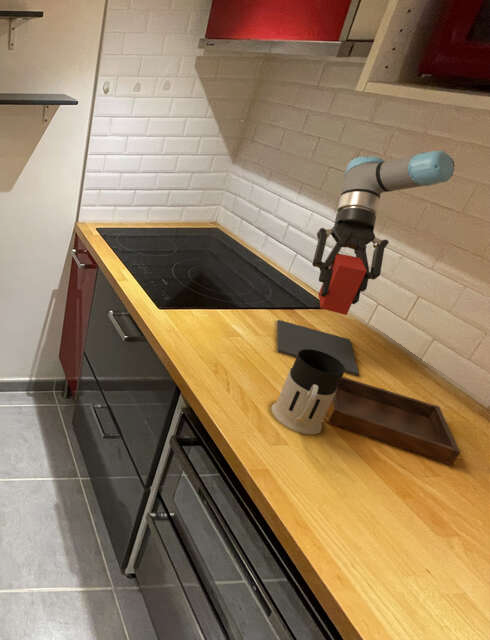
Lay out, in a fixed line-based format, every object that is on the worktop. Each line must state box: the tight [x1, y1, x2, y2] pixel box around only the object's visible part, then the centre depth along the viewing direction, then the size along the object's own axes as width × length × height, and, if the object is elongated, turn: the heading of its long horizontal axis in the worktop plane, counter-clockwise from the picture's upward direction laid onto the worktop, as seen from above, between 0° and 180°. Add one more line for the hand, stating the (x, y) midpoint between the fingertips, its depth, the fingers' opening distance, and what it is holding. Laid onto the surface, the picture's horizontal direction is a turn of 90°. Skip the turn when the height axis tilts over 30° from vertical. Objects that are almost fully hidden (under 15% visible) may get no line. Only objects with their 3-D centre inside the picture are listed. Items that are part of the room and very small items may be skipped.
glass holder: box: [270, 349, 346, 435], centre depth 89 cm, size 9×14×15 cm, turn 140°
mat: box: [276, 319, 359, 377], centre depth 116 cm, size 16×16×1 cm
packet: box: [317, 253, 367, 316], centre depth 108 cm, size 5×8×12 cm, turn 147°
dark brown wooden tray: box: [326, 376, 461, 467], centre depth 93 cm, size 19×14×4 cm
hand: (339, 298), depth 106 cm, fingers closed on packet, 5 cm apart
